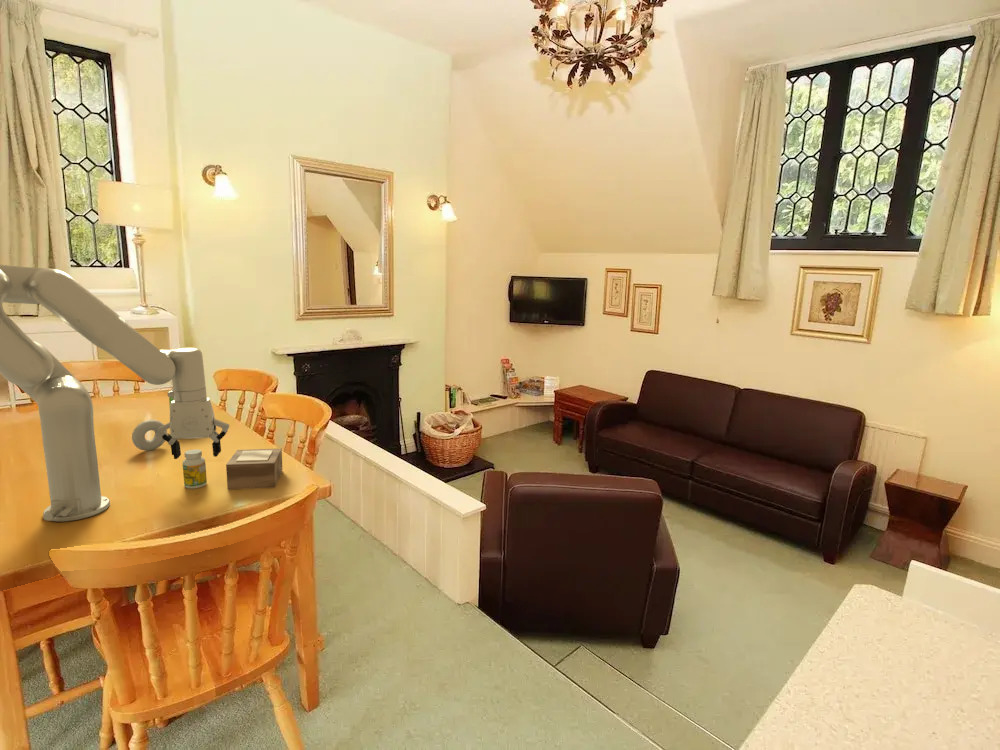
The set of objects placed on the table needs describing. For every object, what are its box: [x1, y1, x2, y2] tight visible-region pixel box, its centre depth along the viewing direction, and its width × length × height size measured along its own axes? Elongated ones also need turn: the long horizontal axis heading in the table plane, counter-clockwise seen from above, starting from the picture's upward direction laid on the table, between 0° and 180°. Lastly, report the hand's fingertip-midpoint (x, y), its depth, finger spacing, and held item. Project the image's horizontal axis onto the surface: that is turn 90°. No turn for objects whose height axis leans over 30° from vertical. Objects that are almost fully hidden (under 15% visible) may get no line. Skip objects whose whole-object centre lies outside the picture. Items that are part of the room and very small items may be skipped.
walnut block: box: [225, 448, 283, 490], centre depth 152 cm, size 12×12×7 cm
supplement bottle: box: [182, 449, 208, 490], centre depth 147 cm, size 5×5×10 cm
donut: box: [131, 419, 168, 452], centre depth 172 cm, size 10×3×10 cm, turn 146°
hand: (197, 456), depth 147 cm, fingers open, 9 cm apart
